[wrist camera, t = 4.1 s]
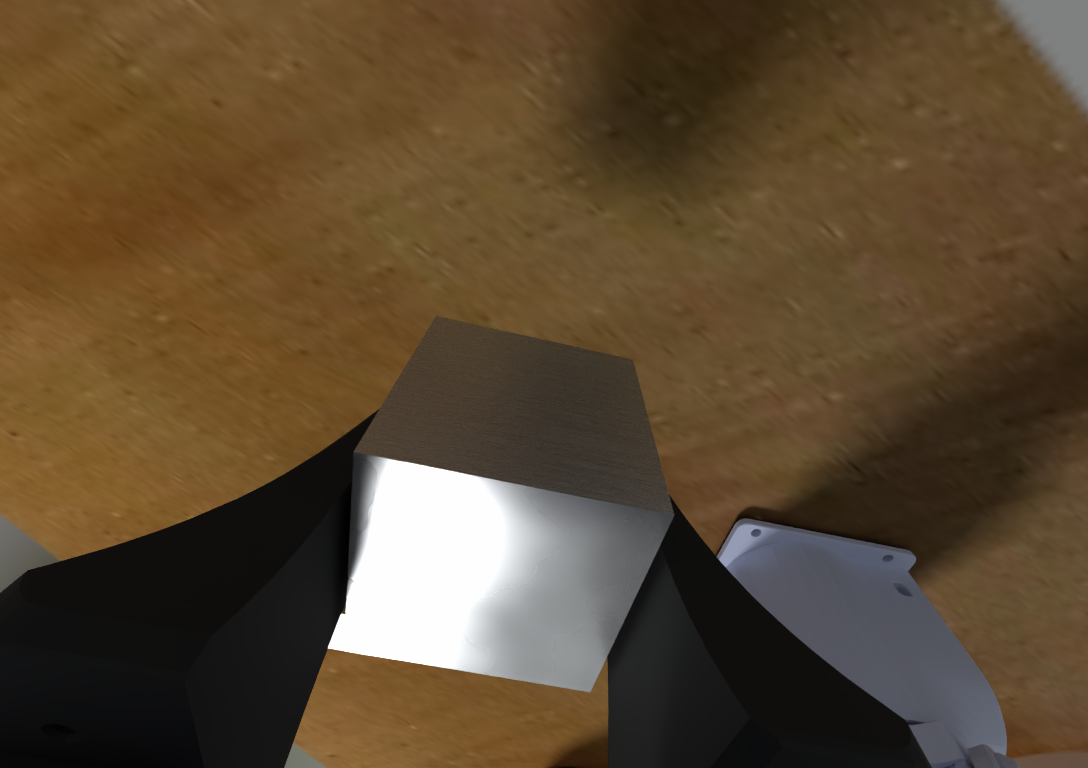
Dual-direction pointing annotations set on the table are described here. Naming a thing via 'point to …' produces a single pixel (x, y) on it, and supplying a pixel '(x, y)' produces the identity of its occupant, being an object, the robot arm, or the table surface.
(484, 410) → the metal cube
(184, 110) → the table surface
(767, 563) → the robot arm
